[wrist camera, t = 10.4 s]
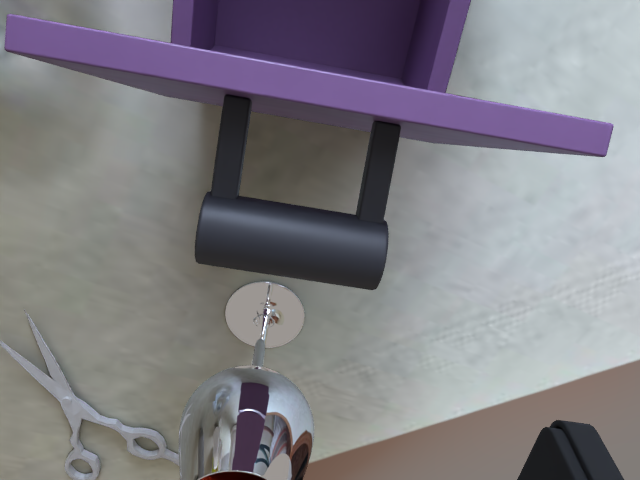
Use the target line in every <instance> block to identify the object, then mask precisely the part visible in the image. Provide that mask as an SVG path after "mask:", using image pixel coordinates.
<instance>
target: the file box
mask: <svg viewBox="0 0 640 480" xmlns="http://www.w3.org/2000/svg"><path fill="white" fill-rule="evenodd" d="M470 2H471V0H173V12H172V30H171V43H173V44H178V45H184V46H189V47H195V48H200V49H206V50H211V51H217V52H222V53H228V54H233V55H239V56H244V57H249V58H255V59H260V60H266V61H271V62H277V63H282V64H288V65H293V66H299V67H304V68H310V69H315V70H321V71H326V72H332V73H337V74H343V75H348V76H354V77H359V78H365V79H370V80H376V81H381V82H387V83H392V84H398V85H403V86H408V87H414V88H419V89H425V90H430V91H436V92H441V93H446V89H447V86H448V82H449V78H450V75H451V71H452V68H453V64H454V60H455V57H456V53H457V49H458V46H459V42H460V39H461V35H462V31H463V28H464V24H465V20H466V17H467V13H468V9H469V6H470Z"/></svg>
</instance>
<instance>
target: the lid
mask: <svg viewBox="0 0 640 480" xmlns="http://www.w3.org/2000/svg"><path fill="white" fill-rule="evenodd" d="M5 50H6V51H7V52H11V53H14V54H18V55H21V56H25V57H29V58H32V59H36V60H39V61H43V62H46V63H50V64H53V65H57V66H60V67H64V68H67V69H71V70H75V71H78V72H82V73H85V74H89V75H92V76H96V77H99V78H103V79H106V80H110V81H113V82H117V83H121V84H124V85H128V86H131V87H135V88H138V89H142V90H145V91H149V92H152V93H156V94H159V95H163V96H167V97H173V98H178V99H184V100H190V101H196V102H201V103H207V104H213V105H218V106H223V108H222V115H221V123H220V130H219V137H218V144H217V152H216V159H215V166H214V173H213V181H212V188H211V191H210V192H207V193H206V195H205V197H204V199H203V202H202V206H201V210H200V215H199V220H198V225H197V232H196V240H195V259H196V262H197V263H199V264H204V265H211V266H217V267H224V268H231V269H237V270H244V271H250V272H257V273H263V274H270V275H276V276H283V277H290V278H296V279H303V280H309V281H316V282H322V283H329V284H335V285H342V286H348V287H355V288H362V289H368V290H374V289H376V288H377V287H378V285H379V283H380V281H381V278H382V275H383V271H384V267H385V263H386V257H387V250H388V225H387V222H386V221H385V220H384V215H385V210H386V204H387V199H388V194H389V189H390V183H391V178H392V173H393V168H394V163H395V157H396V152H397V147H398V142H399V137H401V138H407V139H413V140H418V141H424V142H430V143H438V144H450V145H462V146H474V147H486V148H499V149H511V150H523V151H535V152H547V153H559V154H572V155H584V156H596V157H605V156H606V154H607V150H608V146H609V142H610V138H611V134H612V130H613V124H611V123H606V122H600V121H595V120H589V119H584V118H578V117H573V116H567V115H562V114H557V113H551V112H546V111H540V110H535V109H529V108H524V107H518V106H513V105H507V104H502V103H496V102H491V101H485V100H480V99H474V98H469V97H463V96H458V95H452V94H447V93H441V92H436V91H430V90H425V89H419V88H414V87H408V86H403V85H398V84H392V83H387V82H381V81H376V80H370V79H365V78H359V77H354V76H348V75H343V74H337V73H332V72H326V71H321V70H315V69H310V68H304V67H299V66H293V65H288V64H282V63H277V62H271V61H266V60H260V59H255V58H249V57H244V56H239V55H233V54H228V53H222V52H217V51H211V50H206V49H200V48H195V47H189V46H184V45H178V44H173V43H167V42H162V41H156V40H151V39H145V38H140V37H134V36H129V35H123V34H118V33H112V32H107V31H101V30H96V29H90V28H85V27H80V26H74V25H69V24H63V23H58V22H52V21H47V20H41V19H36V18H30V17H25V16H19V15H14V14H8V15H7V21H6V35H5ZM251 111H253V112H258V113H264V114H270V115H276V116H281V117H287V118H293V119H298V120H304V121H310V122H316V123H321V124H327V125H333V126H338V127H344V128H350V129H356V130H361V131H367V132H371V134H370V140H369V145H368V151H367V156H366V162H365V167H364V172H363V178H362V183H361V189H360V194H359V200H358V205H357V211H356V215H353V214H347V213H341V212H335V211H329V210H323V209H316V208H310V207H304V206H298V205H292V204H286V203H280V202H273V201H267V200H261V199H255V198H249V197H243V196H239V190H240V183H241V176H242V169H243V162H244V155H245V149H246V142H247V135H248V128H249V121H250V114H251Z"/></svg>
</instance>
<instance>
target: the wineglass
mask: <svg viewBox="0 0 640 480" xmlns="http://www.w3.org/2000/svg"><path fill="white" fill-rule="evenodd" d="M225 317H226V322H227V325H228V327H229V329H230V330H231V332H232V333H233V334H234V335H235V336H236V337H237V338H238V339H240V340H241V341H243V342H244V343H246V344H249V345H251V346H255V349H254V355H253V361H252V365H243V366H236V367H232V368H228V369H225V370H223V371H221V372H218V373H216V374H215V375H213V376H211V377H210V378H208V379H207V380H206V381H204V382H203V383H202V384H201V385H200V386H199V387H198V388H197V389H196V390H195V391H194V393H193V394H192V395H191V397H190V398H189V400H188V402H187V404H186V406H185V408H184V411H183V414H182V417H181V422H180V429H179V469H180V480H303V477H304V475H305V471H306V469H307V465H308V462H309V459H310V455H311V452H312V447H313V442H314V419H313V414H312V411H311V408H310V406H309V403H308V401H307V400H306V398H305V396H304V395H303V393H302V392H301V391H300V389H299V388H298V387H297V386H296V385H295V384H294V383H293V382H292V381H291V380H289V379H288V378H287V377H285V376H284V375H282V374H280V373H279V372H277V371H274V370H272V369H269V368H266V367H263V362H264V354H265V348H274V347H279V346H282V345H284V344H287V343H288V342H290V341H292V340H293V339H294V338H295V337H296V336H297V335H298V334H299V333H300V331H301V329H302V327H303V325H304V320H305V312H304V307H303V304H302V302H301V300H300V299H299V297H298V296H297V295H296V294H295V293H294V292H293V291H292V290H290V289H289V288H287V287H286V286H284V285H281V284H279V283H275V282H270V281H257V282H252V283H249V284H246V285H244V286H242V287H240V288H239V289H237V290H236V291H235V292H234V293H233V294H232V295H231V297H230V298H229V300H228V302H227V305H226V310H225Z"/></svg>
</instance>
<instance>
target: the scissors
mask: <svg viewBox="0 0 640 480" xmlns="http://www.w3.org/2000/svg"><path fill="white" fill-rule="evenodd" d="M24 311H25V310H24ZM25 313H26V316H27V318H28V321H29V323H30V326H31V328H32V331H33V333H34V336H35V338H36V341H37V343H38V346H39V348H40V350H41V353H42V355H43V357H44V359H45V362H46V365H47V368H48V370H49V373H50V375H51V377H52V379H51V378H50V377H49V376H47V375H46V374H45V373H43V372H42V371H41V370H40V369H38V368H37V367H36V366H34V365H33V364H32V363H30V362H29V361H28V360H26V359H25V358H24V357H22V356H21V355H20V354H18V353H17V352H16V351H14V350H13V349H12V348H10V347H9V346H8V345H6V344H5V343H4V342H2V341H1V340H0V345H1V346H2V347H3V348H4V349H5V350H6V351H7V352H8V353H9V354H10V355H11V356H12V357H13V358H14V359H15V360H16V361H17V362H18V363H19V364H20V365H21V366H22V367H23V368H25V369H26V370H27V371H28V372H29V373H30V374H31V375H32V376H33V377H34V378H35V379H36V380H37V381H38V382H39V383H40V384H41V385H42V386H44V387H45V388H46V389H47V390H48V391H49V392H50V393H51V394H52V395H53V396H54V397H55V398H57V399H58V400H59V401H60V403H61V406H62V409H63V411H64V413H65V415H66V417H67V418H68V421H69V423H70V426H71V428H72V430H73V434H72V436H71V438H70V440H69V441H70V442H71V444H72V445H73V447H74V449H73V450H72V451H71V452H70V453H69V455H68V457H67V459H66V462H65V470H66V472H67V474H68V475H69V476H70V477H71V478H72V479H74V480H95V479H96V478H97V476H98V475H99V472H100V461H99V458H98V456H97V455H95V454H93V453H91V452H89V451H87V450H85V449H84V447H83V445H82V443H81V442H80V440H79V432H80V425H81V423H82V420H83V419H85V420H88V421H91V422H94V423H97V424H100V425H104V426H107V427H109V428H112V429H114V430H116V431H117V432H119V433H120V434H121V435H122V436H123V437H124V438H125V439H126V440H127V451H129V452H130V453H132V454H133V455H135V456H137V457H140V458H143V459H148V460H153V459H157V458H161V457H162V458H165V459H167V460H170V461H172V462H174V463H175V464H177V465H179V454H177V453H175V452H173V451H171V450H169V449H166V447H167V444H166V442H165V439H164V437H162V436H161V435H160V434H159V433H158V432H157V431H155V430H152V429H148V428H132V427H128V426H125V425H123V424H122V423H121V422H120V421H119V420H118V419H113V418H107V417H104V416H101V415H99V414H98V413H97V412H96V411H95V410H94V409H93V408H92V407H91V406H89V405H88V404H87V403H86V402H84V401H82V400H81V399H79V398H77V397H76V396H75V395H74V393H73V391H72V389H71V387H70V385H69V383H68V381H67V379H66V378H65V376H64V374H63V372H62V370H61V368H60V366H59V365H58V363H57V361H56V359H55V358H54V356H53V354H52V353H51V351H50V349H49V348H48V346H47V344H46V343H45V341H44V339H43V338H42V336H41V334H40V332H39V331H38V329H37V327H36V326H35V324H34V323H33V321H32V320H31V318H30V317H29V315H28V314H27V312H26V311H25ZM139 437H145V438H149V439H151V440H153V441H154V442H155V443H156V444H157V445H158V447H159V449H158V450H154V451H148V450H145V449H143V448H141V447H140V446H139V445H138V444H137V443H136V441H135V440H134V439H135V438H139ZM75 459H82V460H84V461H86V462H88V463H89V465H90V467H91V469H92V470H93V472H92V473H88V474H83V473H80V472H78V471H76V470H75V469H74V467H73V466H72V465H71V461H72V460H75Z"/></svg>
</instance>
